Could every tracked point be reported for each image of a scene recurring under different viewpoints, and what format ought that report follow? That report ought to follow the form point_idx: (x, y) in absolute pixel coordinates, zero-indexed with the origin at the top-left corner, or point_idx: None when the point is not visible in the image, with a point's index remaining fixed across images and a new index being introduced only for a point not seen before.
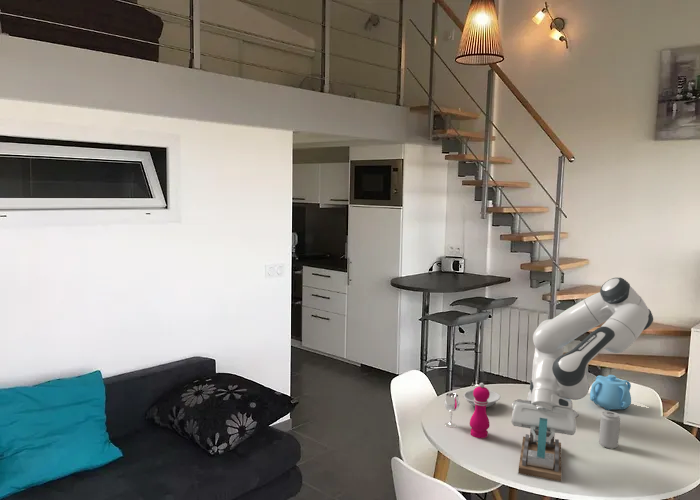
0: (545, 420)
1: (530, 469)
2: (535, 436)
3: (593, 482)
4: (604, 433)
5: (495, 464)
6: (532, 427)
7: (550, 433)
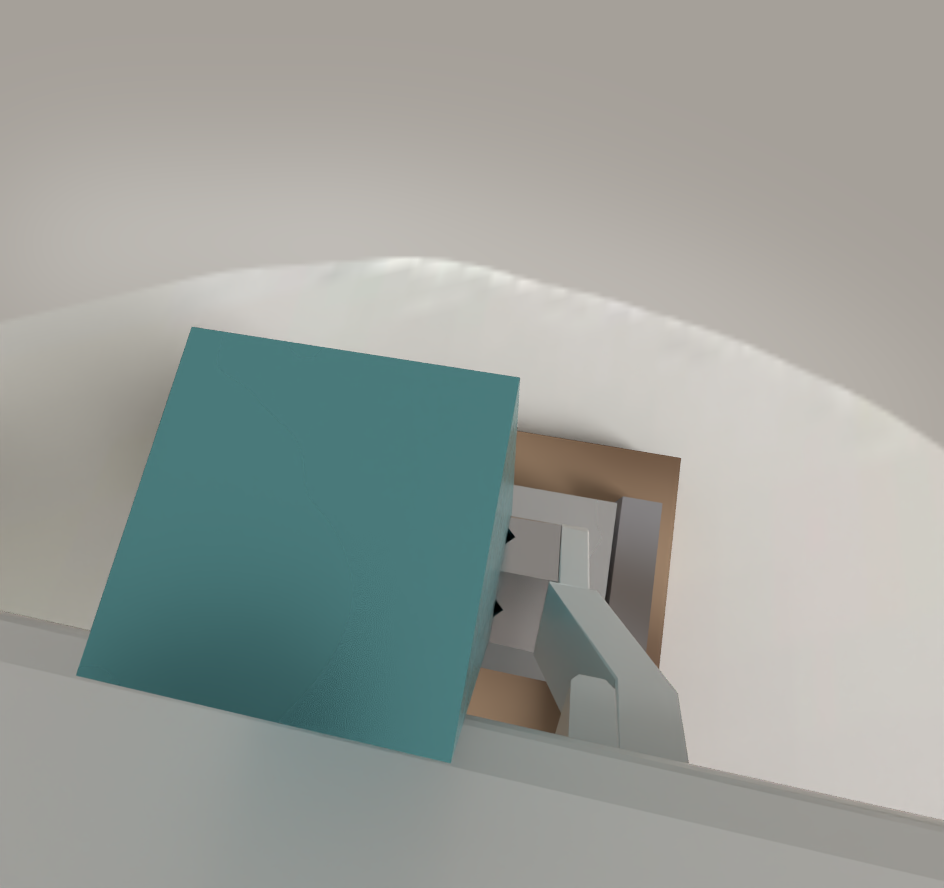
0: (239, 422)
1: (574, 443)
2: (555, 558)
3: (93, 458)
4: None
5: (871, 604)
6: (641, 724)
7: None
